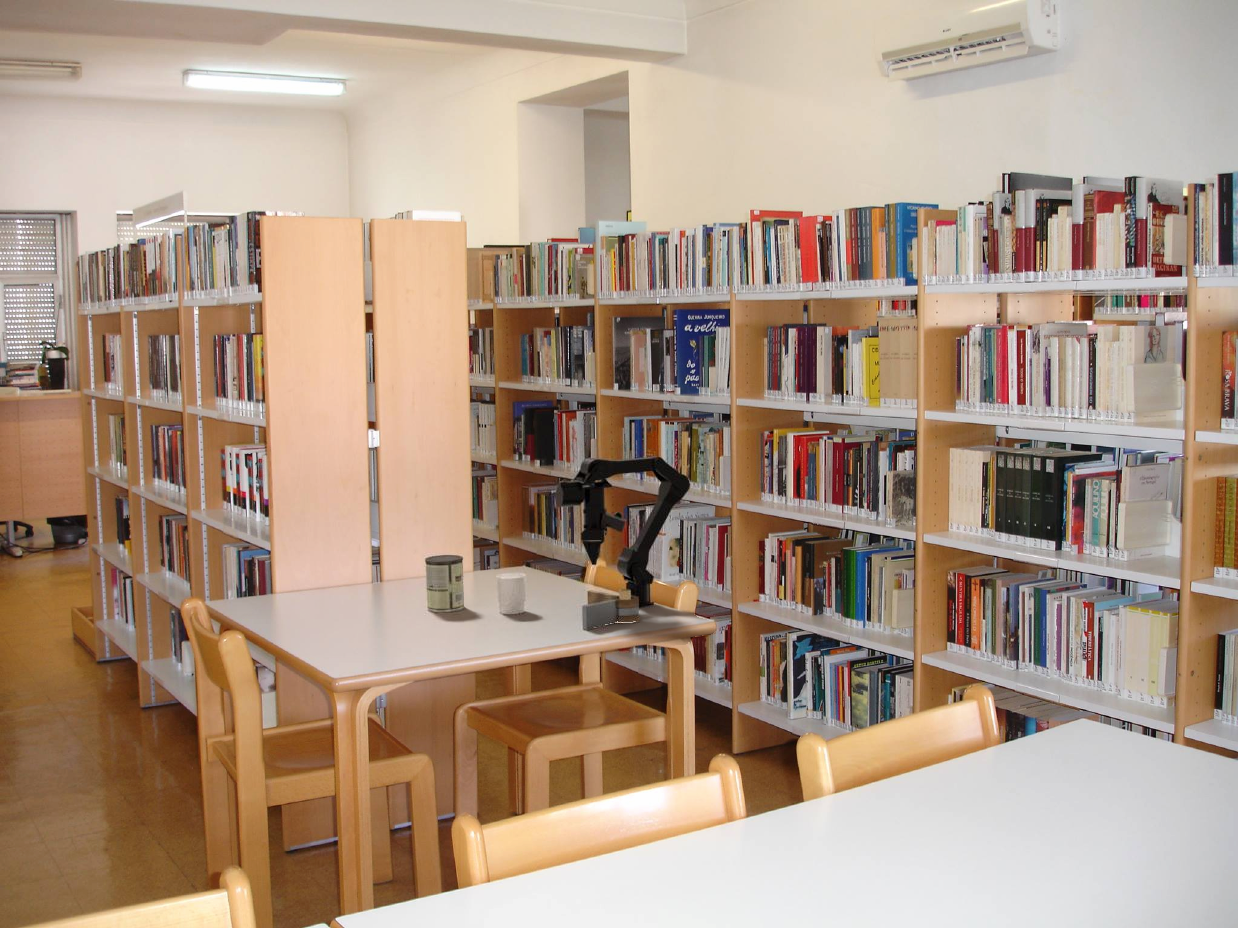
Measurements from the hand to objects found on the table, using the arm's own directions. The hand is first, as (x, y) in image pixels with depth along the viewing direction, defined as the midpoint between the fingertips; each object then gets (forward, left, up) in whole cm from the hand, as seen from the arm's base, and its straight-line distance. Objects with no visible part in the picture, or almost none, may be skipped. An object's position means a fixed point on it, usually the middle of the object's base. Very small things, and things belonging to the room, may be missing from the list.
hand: (595, 561), depth 320 cm
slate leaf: (+9, +16, -13) cm, 23 cm away
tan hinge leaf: (+4, +11, -13) cm, 17 cm away
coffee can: (+28, -31, -13) cm, 44 cm away
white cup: (+18, -14, -13) cm, 26 cm away
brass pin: (+4, +16, -13) cm, 21 cm away
